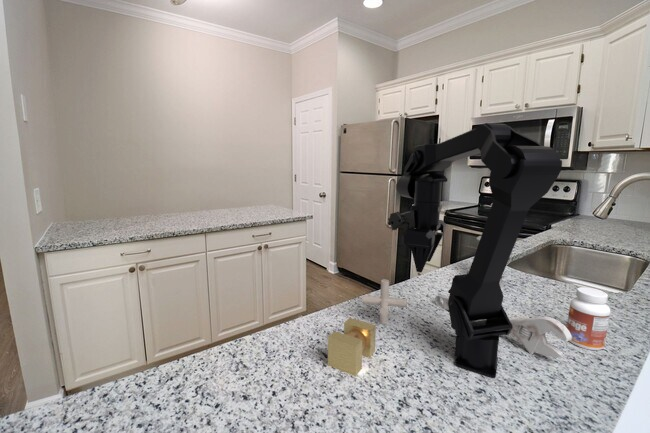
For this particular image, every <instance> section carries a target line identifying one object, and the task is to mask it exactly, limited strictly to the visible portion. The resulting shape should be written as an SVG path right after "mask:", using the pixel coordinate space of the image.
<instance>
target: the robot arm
mask: <svg viewBox="0 0 650 433" xmlns="http://www.w3.org/2000/svg"><path fill="white" fill-rule="evenodd" d="M479 154H480V159H481V163H482V164H484V166H486V168H488V170H490V174H489V179H488V185H489V188H490V192H491V195H492V198H493V200H492V203H493V204H492V203H491V204H492V206H491V205H490V210H489V212H488V216H487V219H486V222H485V224H484V228H483V231H482V233H481V235H482V236H481V235H480V236H481V238H480V241H478V245H477V248H476V250H475V254H474V257H473V260H472V262H471V265H470V268H469V271H468V272H467V273H464V274H456V275H454V276H453V278H452V280H451V281H452V282H451V286H450V288H449V290H448V291H447V293H449V300H448V307H449V310H448V312H449V314H448V315H449V321H450V327H451V329H453V330H454V334H455V339H454V340H455V341H454V354H453V355H454V357H455V362H454V365H455V366H457V367H460V368H462V369H465V370H467V371H471V372H475V373H477V374H481V375H483V376H487V377H491V378H493V379H494V378H497V368H498V361H499V356H498V354H499V353H498V352H499V343H500V336H509V335H511V334H510V332H511V330H512V328H513V326H512V324H511V322H510V320H509V318H508V317H509V316H508V314H507V313H506V310H505V309H504V307H503V301H504V293H503V290H502V288H501V287H500V284H499V282H500V279H501V277H502V278H503V274H504V273H505V272H504V271H505V270H506V267H507V266H508V265H507V263H508V262H509V260H510V257H511V252H512V253H513V249H514V247H515V246H516V242H517V239H518V237H519V235H520V233H521V230H522V227H523V225H524V223H525V220H526V217H527V215H528V212H529V210H530V209H531V208H532V206H534V205H535V204H536V203H537V202H539V201H540V200H541V199H542V198H543V197H545V195H547V193H548V192H549V191H550V190H551V189H552V186H553V184H554V183H555V181H556V180H557V179H558V177H559V176H560V173H561V171H562V167H563V160H562V159H560V156H559V153H558V152H557V150H556V149H554V148H553V147H551V146H543V144H541V143H540V142H538V141H537V140H536V139H535V140H534V139H532V138H530V137H529V136H526V135H523V134H522V133H520V132H518V131H516V130H515V129H514V128H512V126H509V125H508V124H505V123H495V122H493V123H491V122H489V123H488V122H485V123H481V124H479V125H477V126H476V127H475V128H472V129H470V130H468V131H466V132H463V133H460V134H458V135H456V136H453V137H452V138H449V139H447V140H444V141H442V142H440V143H426V144H425V143H423V144H418V145H416V146H415V147H414V148H413V151H412V152H411V154H410V156H409V159H408V161H407V163H406V164H405V166H404V170H403V175H402V176H400V178H399V179H398V180H397V182H396V185H395V189H396V192H397V194H398V195H399V196H401V197H404V198H409V199H413V200H414V201H413V202H414V203H413V205H411V207H410V210H409V211H406V212H402V213H400V212H399V211H395V212H391V213H390V215H389V217H388V219H387V220H388V222H387V225H388V226H390V228H391V230H392V231H397V230H398V229H401V228H404V227H408V229H406V230H405V231H404V232H403V233H402V234H401V243H402V244H403V245H404V246H405V247H407V248H408V249H409V250H410V251H411V254H412V258H413V261H414V267H415V271H416V272H417V273H422V272H423V270H424V268H425V267H426V265H427V264H426V263H427V262H431V261H432V258H433V256H434V254H435V252H436V251H437V248H438V247H439V244H440V243H441V240H442V238H443V236H444V234H445V232H446V222H445V221H444V220H443V219H440V215H441V214H440V213H441V210H443V209H442V205H441V197H442V184H443V183H447V182H448V178H447V177H446V175H444V173H443V171H445V170H446V169H448V168H450V167H451V166H452V164H453V163H454V162H456V161H458V160H462V159H465V158H469V157H472V156H475V155H479ZM439 231H440V232H439ZM506 265H507V266H506ZM484 319H487V320H484ZM476 320H482V321H476Z"/></svg>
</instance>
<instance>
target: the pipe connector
mask: <svg viewBox="0 0 650 433" xmlns="http://www.w3.org/2000/svg"><path fill="white" fill-rule="evenodd" d="M389 289H390V280H389V279H386V278H385V279H384V278H382V279H381V280H380V296H375V295H365V294H364V295H362V298H361V299H362V300H361V303H362V304H366V305H375V306H376V305H378V306H379V323H380V324H383V325H385V324H388V320H389V307H398V308H408V299H407V298H400V297H399V298H397V297H389V296H390V295H389V293H390V290H389Z"/></svg>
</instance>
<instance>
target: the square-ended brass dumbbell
mask: <svg viewBox="0 0 650 433" xmlns="http://www.w3.org/2000/svg"><path fill="white" fill-rule="evenodd" d="M376 329H377V325H375V324H373V323H369V322H366V321H362V320H359V319H356V318H353V317H349V318H348V319H347V320H345V321H344V323H343V333H342V332H339V331H336V330H334V331H333V332H332V333H331V334H330V335H328V336H327V366H328V367H331V368H334V369H336V370H338V371H341V372H343V373H346V374H349V375H351V376H353V377H357V376H358V375H359V373H360V372H361V370H363V368H362V367H363V366H362V365H363V357H366V358H368V359H370V358H371V357H372V356H373V355H374V354H375V352H376V333H377V332H376Z"/></svg>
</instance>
